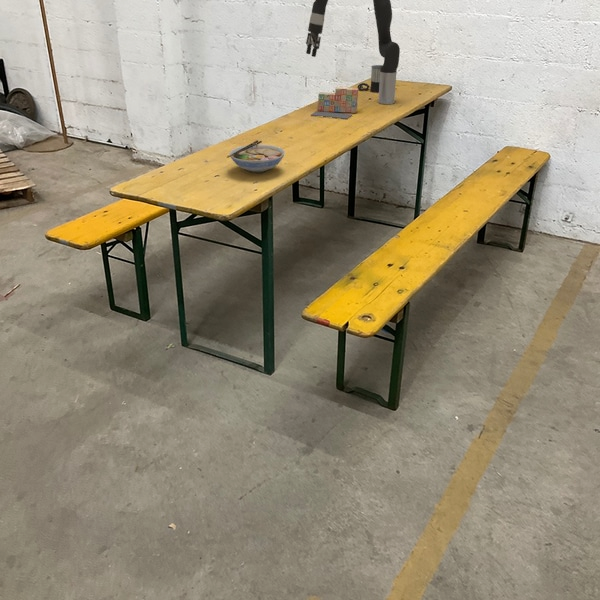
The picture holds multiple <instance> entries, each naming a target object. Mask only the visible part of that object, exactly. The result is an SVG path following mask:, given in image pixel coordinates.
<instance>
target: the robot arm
mask: <svg viewBox="0 0 600 600" xmlns="http://www.w3.org/2000/svg"><path fill="white" fill-rule="evenodd" d="M372 2H373V9H374V17H375V22H376V28H377V36H378V37H377V39H378V52H379V55H380V56H381V57H382V58H383V64H381V65H382V66H381V67H380V84H379V92H378V104H381V105H393V104H395V98H396V85H397V70H398V68H399V61H400V56H401V53H400V49H401V48H400V46H399V44H398V43H397V42H395V41H392V35H391V24H392V19H393V8H392V3H391V0H372ZM328 3H329V0H315V1H314V2H313V4H312V9H311V13H310V17H309V21H308V22H309V23H308V28H307V31H308V32H307V36H306V40H305V41H306V42H305V44H306V47H307V48H306V51H305V52H306V54H308V55H311V57H313V58H315V57H317V51H318V50H319V49H320V46H321V36H319V35H321V34H323V28H324V24H325V15H326V10H327V9H326V8H327V4H328Z"/></svg>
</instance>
